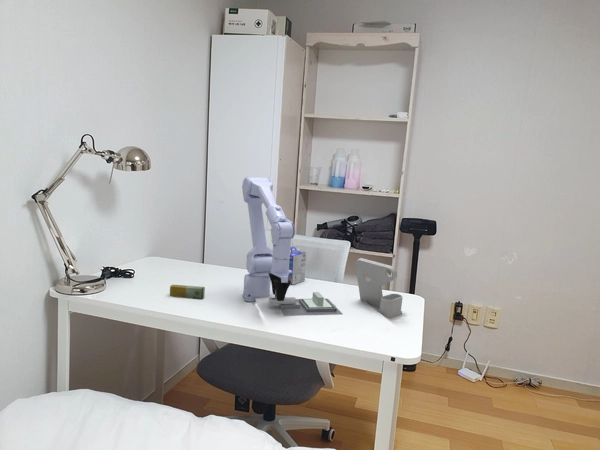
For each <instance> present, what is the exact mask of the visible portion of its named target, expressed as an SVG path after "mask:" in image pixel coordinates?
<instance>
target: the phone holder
mask: <svg viewBox="0 0 600 450" xmlns="http://www.w3.org/2000/svg"><path fill="white" fill-rule="evenodd" d="M354 265H355V270H356V277H357V285H358V291H359V299H360V300H362V301H365V302H366V303H367V304H369V305H370V307H372V308H373V309H374V310H375V311H377V312H378V313H379V314H381V316H383V317H384V318H385V319H392V318H394V317H397V316H400V315H402V314H403V310H402V305H403V295H401V294H399V293H389V294H386V295H384V294H383V288H382V286H384V285H386V284H389V283H390V282H392V281H394V280H395V279H397V277H398V274H397V273H398V271H397V269H396V268H395V267H394V266H392V265H389V264H386V263H382V262H377V261H376V260H375V261H374V260H370V259H366V258H363V257H359V258H358V259H357V260H355V264H354ZM387 270H388V271H389V272H390V273H391V274H389V273H388V271H387ZM366 275H369V277H370V280H368V279H367V277H366Z"/></svg>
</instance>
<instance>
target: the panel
mask: <svg viewBox="0 0 600 450" xmlns="http://www.w3.org/2000/svg"><path fill="white" fill-rule="evenodd" d="M303 299H304V298H296V304H276V305H277V307H278V308H279V310H280V311H281V314H283V317H284V316H285V317H288V316H289V317H290V316H291V317H292V316H300V317H301V316H335V315H343V312H342V311H340V309H339V308H338V307H337V306H336V305H335V304H334V303H333V302H332V301H331V300H330V299H329V298H324V299H325V300H326V301H327V302H328V303H329V304H330V305H331V306H332V308H310V309H308V307H307V306H306V305H305V304H304V302H303Z"/></svg>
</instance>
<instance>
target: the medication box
mask: <svg viewBox="0 0 600 450" xmlns="http://www.w3.org/2000/svg"><path fill="white" fill-rule="evenodd" d="M205 289H206V288H205V286H195V285H183V284H182V285H181V284H171V285H170V286H169V297H170V298H172V297H173V298H185V299H194V300H195V299H196V300H203V299H205Z"/></svg>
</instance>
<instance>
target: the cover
mask: <svg viewBox="0 0 600 450" xmlns="http://www.w3.org/2000/svg"><path fill="white" fill-rule="evenodd" d="M302 299H303V302H304V304H305V305H306V306H307V307H308V309H310V308H332V306H331V305H330V304H329V303H328V302H327V301H326V300H325V299H326V298H325V297H324V296H323V295H322V294H321V293H320V292H319V291H312V297H311V298H302Z"/></svg>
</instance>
